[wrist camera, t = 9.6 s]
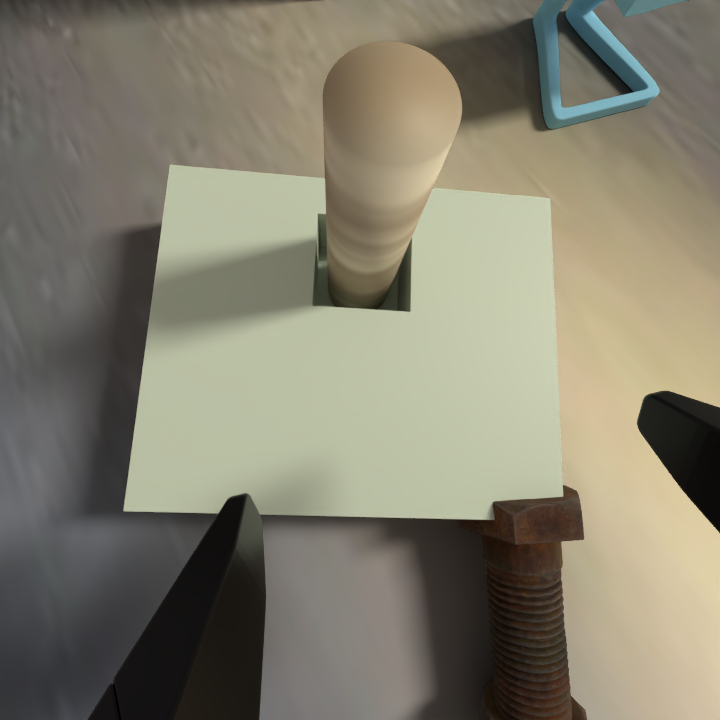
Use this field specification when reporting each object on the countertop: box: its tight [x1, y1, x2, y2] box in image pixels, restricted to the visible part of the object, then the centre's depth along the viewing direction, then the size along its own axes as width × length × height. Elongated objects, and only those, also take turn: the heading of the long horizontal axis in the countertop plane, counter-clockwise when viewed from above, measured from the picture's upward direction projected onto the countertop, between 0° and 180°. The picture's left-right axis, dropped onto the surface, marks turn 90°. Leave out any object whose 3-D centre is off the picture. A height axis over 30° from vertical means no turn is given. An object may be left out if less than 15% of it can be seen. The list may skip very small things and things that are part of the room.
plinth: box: [123, 165, 563, 520], centre depth 19 cm, size 15×18×4 cm
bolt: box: [458, 485, 587, 720], centre depth 18 cm, size 6×5×15 cm
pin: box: [323, 41, 462, 310], centre depth 15 cm, size 3×3×12 cm
